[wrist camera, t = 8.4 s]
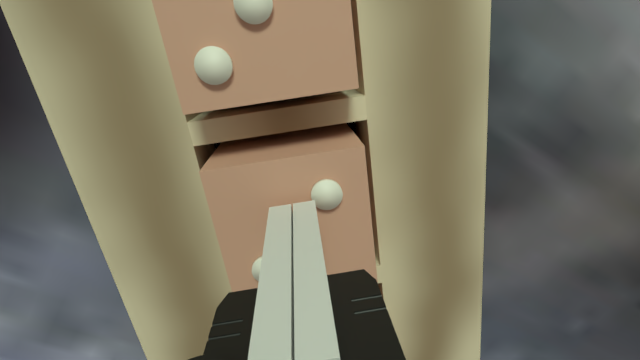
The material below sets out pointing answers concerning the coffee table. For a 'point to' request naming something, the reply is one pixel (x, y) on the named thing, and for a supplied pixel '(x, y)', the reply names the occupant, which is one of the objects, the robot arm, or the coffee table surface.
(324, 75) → the tile three pips
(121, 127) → the board
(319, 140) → the tile two pips
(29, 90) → the coffee table surface
